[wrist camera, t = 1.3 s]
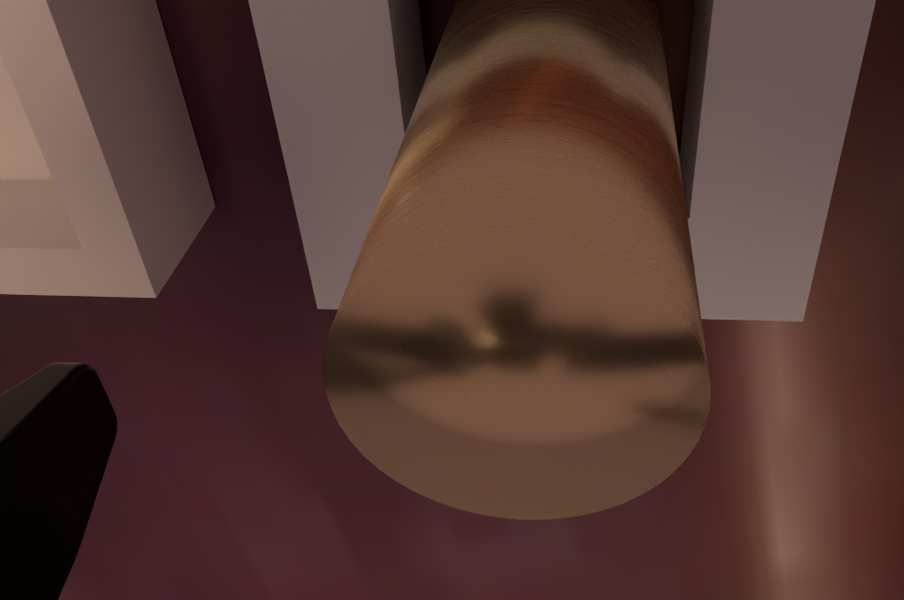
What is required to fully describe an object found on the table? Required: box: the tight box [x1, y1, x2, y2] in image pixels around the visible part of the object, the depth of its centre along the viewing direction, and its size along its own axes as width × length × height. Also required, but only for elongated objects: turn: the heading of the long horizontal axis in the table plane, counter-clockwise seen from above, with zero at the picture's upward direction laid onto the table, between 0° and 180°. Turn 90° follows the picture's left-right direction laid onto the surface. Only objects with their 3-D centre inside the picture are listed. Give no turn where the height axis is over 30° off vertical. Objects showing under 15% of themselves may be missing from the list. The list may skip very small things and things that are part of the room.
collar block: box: [248, 0, 876, 322], centre depth 16 cm, size 10×10×2 cm
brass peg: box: [323, 0, 711, 520], centre depth 13 cm, size 4×4×10 cm
